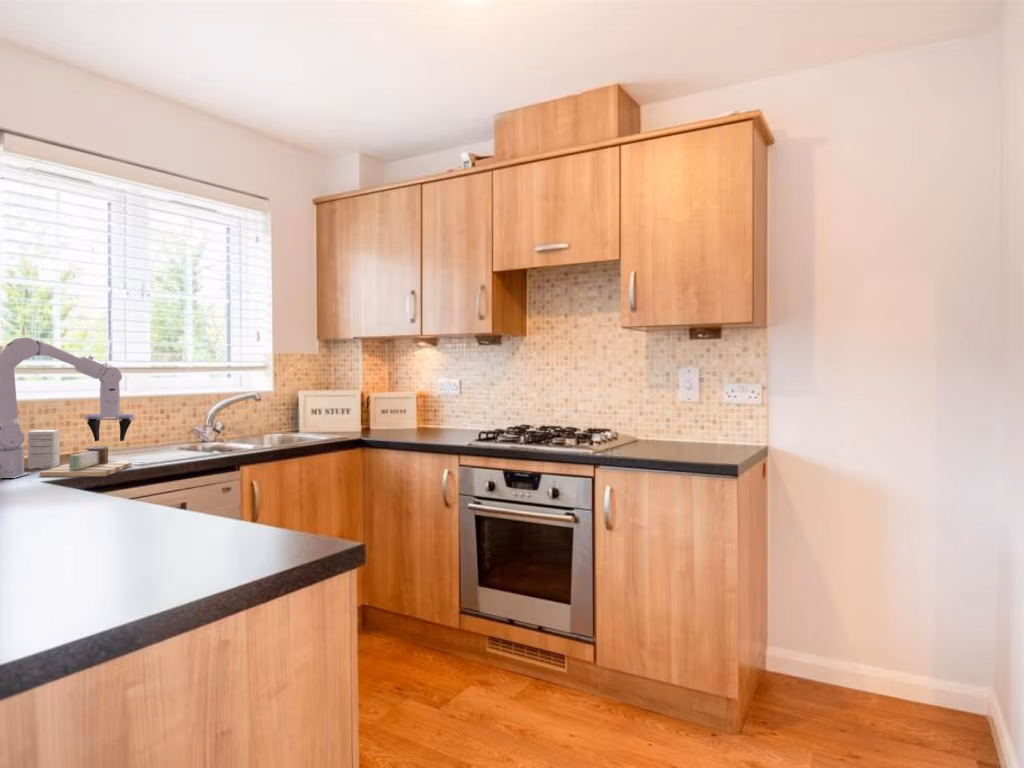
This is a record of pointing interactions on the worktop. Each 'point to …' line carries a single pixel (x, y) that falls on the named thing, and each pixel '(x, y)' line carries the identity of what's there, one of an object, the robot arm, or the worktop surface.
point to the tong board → (90, 467)
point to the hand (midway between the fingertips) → (109, 440)
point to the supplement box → (43, 449)
